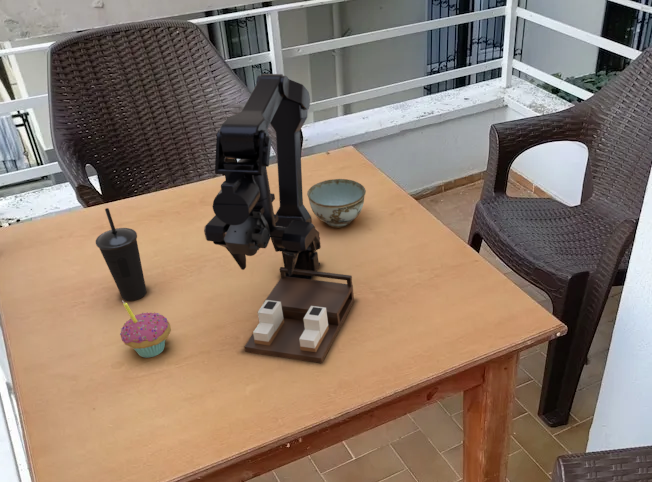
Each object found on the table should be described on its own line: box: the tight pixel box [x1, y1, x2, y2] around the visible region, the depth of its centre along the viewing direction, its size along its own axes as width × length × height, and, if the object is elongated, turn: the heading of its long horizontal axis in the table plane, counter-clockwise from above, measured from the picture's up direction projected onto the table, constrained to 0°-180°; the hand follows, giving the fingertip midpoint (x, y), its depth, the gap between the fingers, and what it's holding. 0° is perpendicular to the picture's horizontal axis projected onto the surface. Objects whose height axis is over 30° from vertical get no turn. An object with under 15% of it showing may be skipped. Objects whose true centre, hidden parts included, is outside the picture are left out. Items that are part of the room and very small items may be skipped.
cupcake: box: [119, 299, 172, 359], centre depth 124 cm, size 9×8×12 cm
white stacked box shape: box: [299, 306, 329, 352], centre depth 126 cm, size 7×3×5 cm, turn 167°
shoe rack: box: [244, 266, 355, 364], centre depth 131 cm, size 15×19×6 cm
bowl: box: [306, 178, 367, 228], centre depth 163 cm, size 14×13×8 cm
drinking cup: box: [95, 207, 147, 302], centre depth 136 cm, size 8×8×20 cm
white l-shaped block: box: [252, 299, 284, 346], centre depth 128 cm, size 7×3×5 cm, turn 167°
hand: (267, 271), depth 125 cm, fingers open, 9 cm apart
